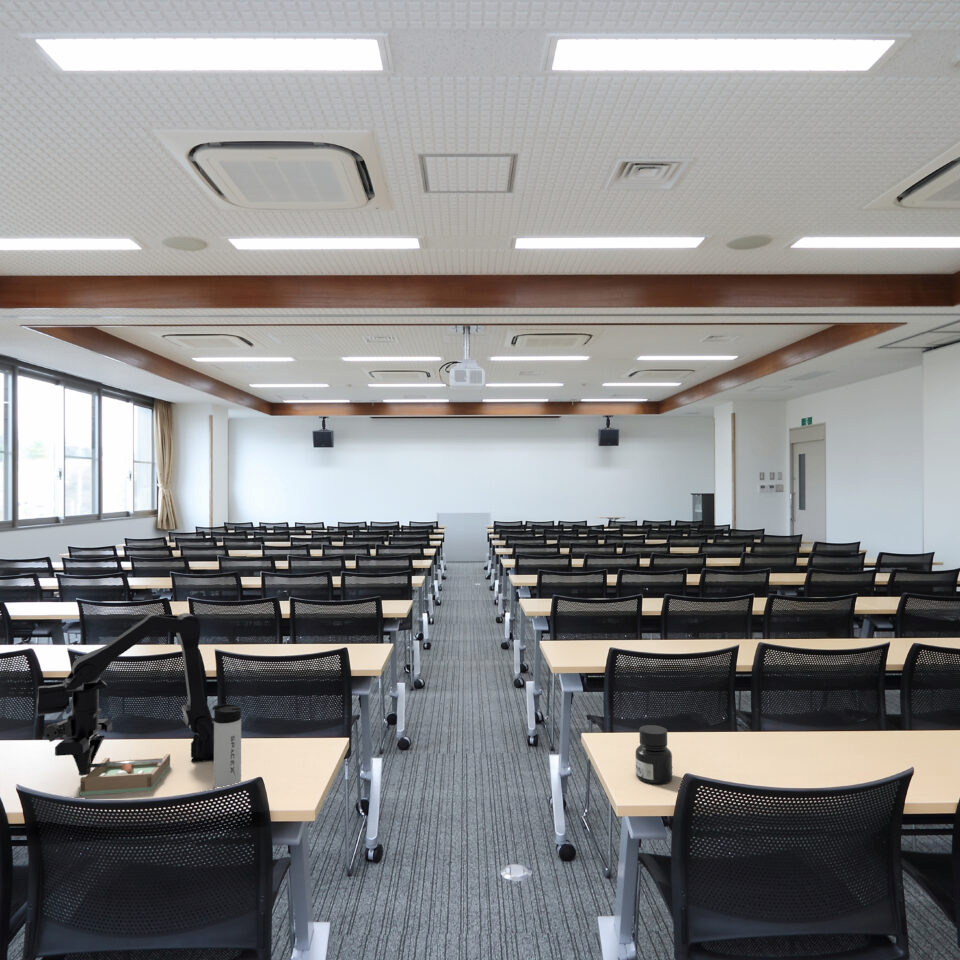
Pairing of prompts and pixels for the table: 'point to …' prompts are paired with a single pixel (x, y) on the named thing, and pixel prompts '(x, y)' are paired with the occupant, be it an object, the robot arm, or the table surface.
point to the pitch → (123, 777)
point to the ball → (121, 772)
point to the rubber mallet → (124, 765)
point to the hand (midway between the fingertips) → (84, 770)
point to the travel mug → (227, 745)
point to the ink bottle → (653, 756)
